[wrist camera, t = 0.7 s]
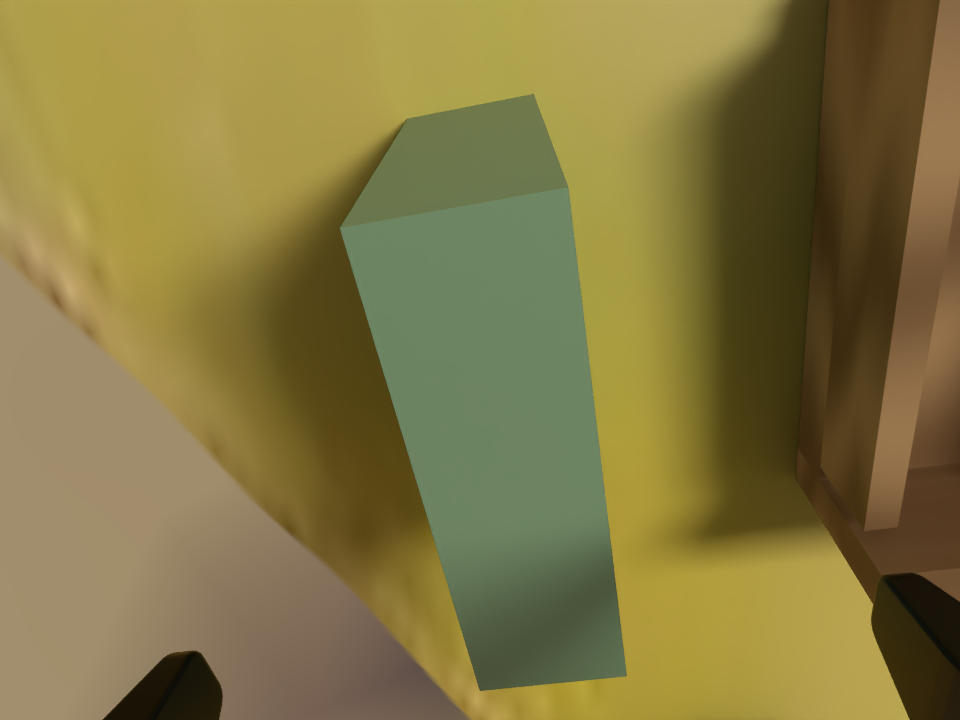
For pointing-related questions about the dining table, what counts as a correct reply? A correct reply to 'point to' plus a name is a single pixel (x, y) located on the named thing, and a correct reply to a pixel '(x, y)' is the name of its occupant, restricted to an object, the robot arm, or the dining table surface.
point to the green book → (494, 385)
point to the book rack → (887, 293)
